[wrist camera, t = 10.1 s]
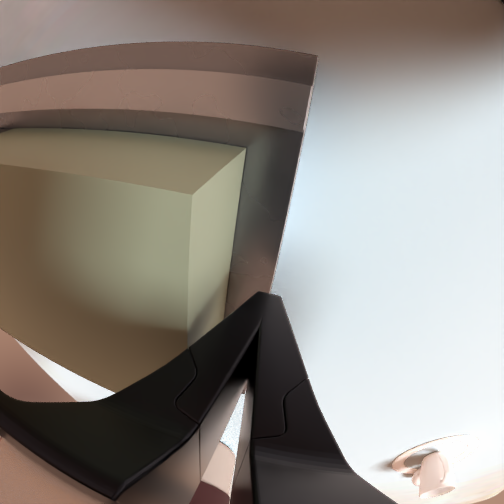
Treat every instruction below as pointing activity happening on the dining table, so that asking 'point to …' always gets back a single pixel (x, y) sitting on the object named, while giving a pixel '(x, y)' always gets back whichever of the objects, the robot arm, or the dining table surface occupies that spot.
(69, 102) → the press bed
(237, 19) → the dining table surface
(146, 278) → the block
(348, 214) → the dining table surface
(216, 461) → the coffee cup
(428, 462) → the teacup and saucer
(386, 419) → the dining table surface
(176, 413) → the robot arm
